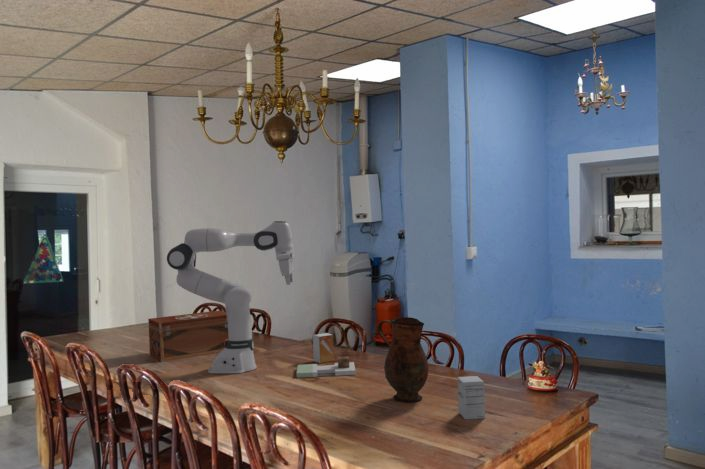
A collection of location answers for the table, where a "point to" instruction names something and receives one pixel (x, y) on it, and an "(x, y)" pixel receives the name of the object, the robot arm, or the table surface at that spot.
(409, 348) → the pitcher
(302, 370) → the trap lane
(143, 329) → the table surface
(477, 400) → the supplement box
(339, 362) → the walnut block
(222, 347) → the wooden box
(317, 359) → the small box
